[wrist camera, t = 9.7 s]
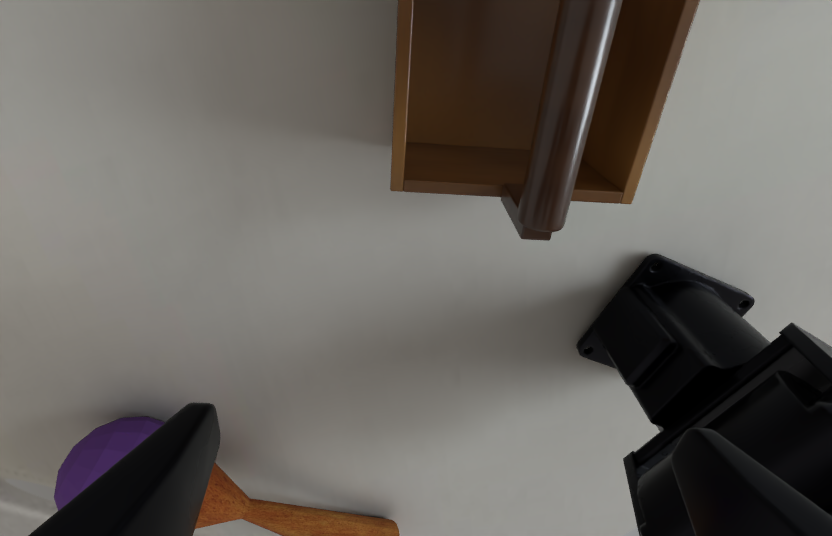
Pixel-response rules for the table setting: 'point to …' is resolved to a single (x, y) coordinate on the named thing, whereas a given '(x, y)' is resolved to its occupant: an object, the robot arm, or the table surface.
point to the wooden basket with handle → (532, 99)
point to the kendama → (224, 501)
